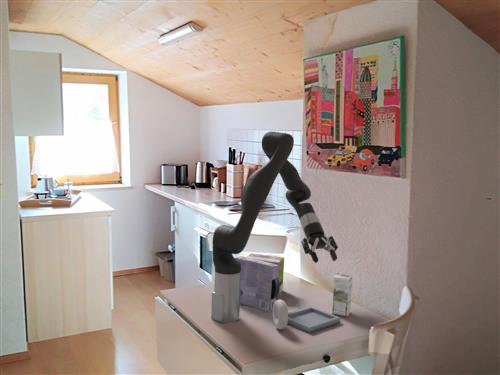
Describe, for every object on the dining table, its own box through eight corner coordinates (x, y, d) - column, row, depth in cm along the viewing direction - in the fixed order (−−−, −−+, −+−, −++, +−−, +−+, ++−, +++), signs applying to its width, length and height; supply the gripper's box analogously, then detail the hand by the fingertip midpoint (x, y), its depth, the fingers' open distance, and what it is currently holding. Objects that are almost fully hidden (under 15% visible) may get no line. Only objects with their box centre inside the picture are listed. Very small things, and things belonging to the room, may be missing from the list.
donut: (288, 334, 171) (290, 304, 170) (279, 334, 170) (280, 305, 169) (280, 322, 181) (281, 295, 179) (270, 323, 180) (272, 295, 179)
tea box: (242, 293, 212) (243, 258, 210) (249, 286, 221) (250, 252, 220) (277, 297, 208) (279, 261, 206) (283, 290, 217) (284, 256, 215)
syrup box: (350, 312, 193) (353, 274, 192) (346, 317, 188) (349, 278, 186) (336, 309, 196) (338, 272, 194) (331, 314, 190) (333, 276, 189)
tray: (309, 333, 172) (309, 327, 172) (280, 320, 182) (280, 315, 182) (340, 322, 182) (340, 317, 182) (310, 311, 193) (311, 306, 193)
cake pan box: (279, 309, 194) (281, 264, 192) (272, 313, 189) (274, 266, 187) (239, 298, 205) (240, 255, 203) (231, 301, 201) (232, 257, 199)
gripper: (300, 222, 204) (314, 257, 195) (330, 220, 210) (345, 254, 201) (293, 232, 209) (306, 267, 200) (322, 230, 215) (337, 264, 206)
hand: (326, 260), depth 200 cm, fingers open, 8 cm apart
